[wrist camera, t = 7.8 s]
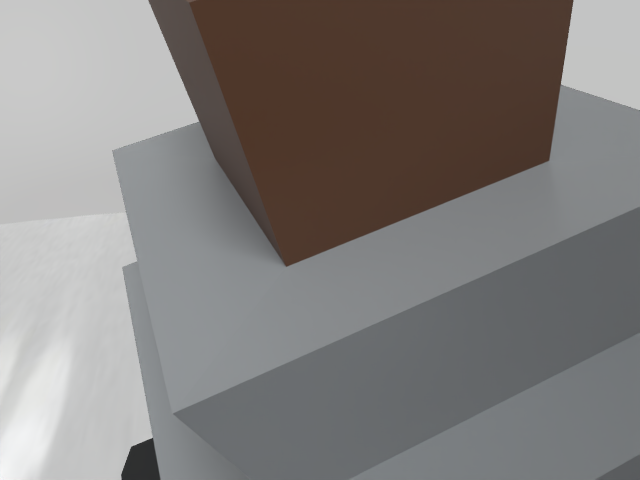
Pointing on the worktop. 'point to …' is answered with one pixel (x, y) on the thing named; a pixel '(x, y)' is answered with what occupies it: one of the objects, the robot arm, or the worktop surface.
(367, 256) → the perfume bottle
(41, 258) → the worktop surface
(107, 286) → the worktop surface
